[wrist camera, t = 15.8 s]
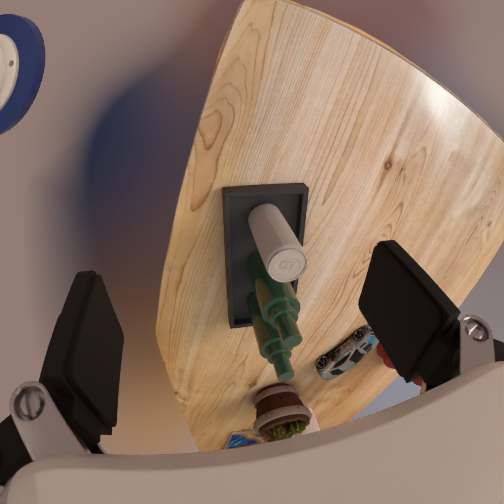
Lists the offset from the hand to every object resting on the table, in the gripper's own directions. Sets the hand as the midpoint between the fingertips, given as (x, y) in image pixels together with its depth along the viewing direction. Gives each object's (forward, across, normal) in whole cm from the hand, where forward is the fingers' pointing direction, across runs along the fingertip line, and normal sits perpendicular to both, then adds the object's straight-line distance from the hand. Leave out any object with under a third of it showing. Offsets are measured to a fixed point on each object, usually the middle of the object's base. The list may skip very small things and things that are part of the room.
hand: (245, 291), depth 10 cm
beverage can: (+30, -8, +13) cm, 34 cm away
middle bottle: (+30, -8, +21) cm, 37 cm away
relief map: (+31, -5, +104) cm, 108 cm away
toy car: (+31, -30, +50) cm, 66 cm away
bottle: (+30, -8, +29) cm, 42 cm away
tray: (+30, -8, +21) cm, 38 cm away
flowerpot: (+31, -13, +65) cm, 73 cm away
